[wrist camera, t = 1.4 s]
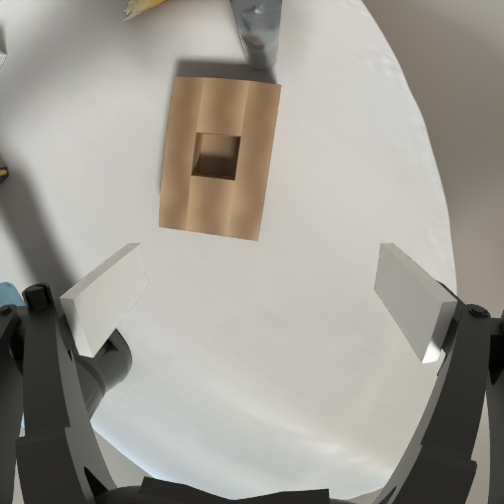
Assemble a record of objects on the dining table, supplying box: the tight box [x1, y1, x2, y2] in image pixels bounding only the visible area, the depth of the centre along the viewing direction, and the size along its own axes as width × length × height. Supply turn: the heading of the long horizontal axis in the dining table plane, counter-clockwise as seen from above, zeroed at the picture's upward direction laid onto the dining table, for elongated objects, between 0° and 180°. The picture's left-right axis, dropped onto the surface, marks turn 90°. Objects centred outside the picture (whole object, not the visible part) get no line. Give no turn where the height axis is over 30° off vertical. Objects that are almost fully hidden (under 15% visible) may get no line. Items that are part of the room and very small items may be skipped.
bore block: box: [159, 77, 281, 241], centre depth 33 cm, size 12×18×5 cm, turn 172°
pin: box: [230, 0, 282, 70], centre depth 23 cm, size 4×4×16 cm
